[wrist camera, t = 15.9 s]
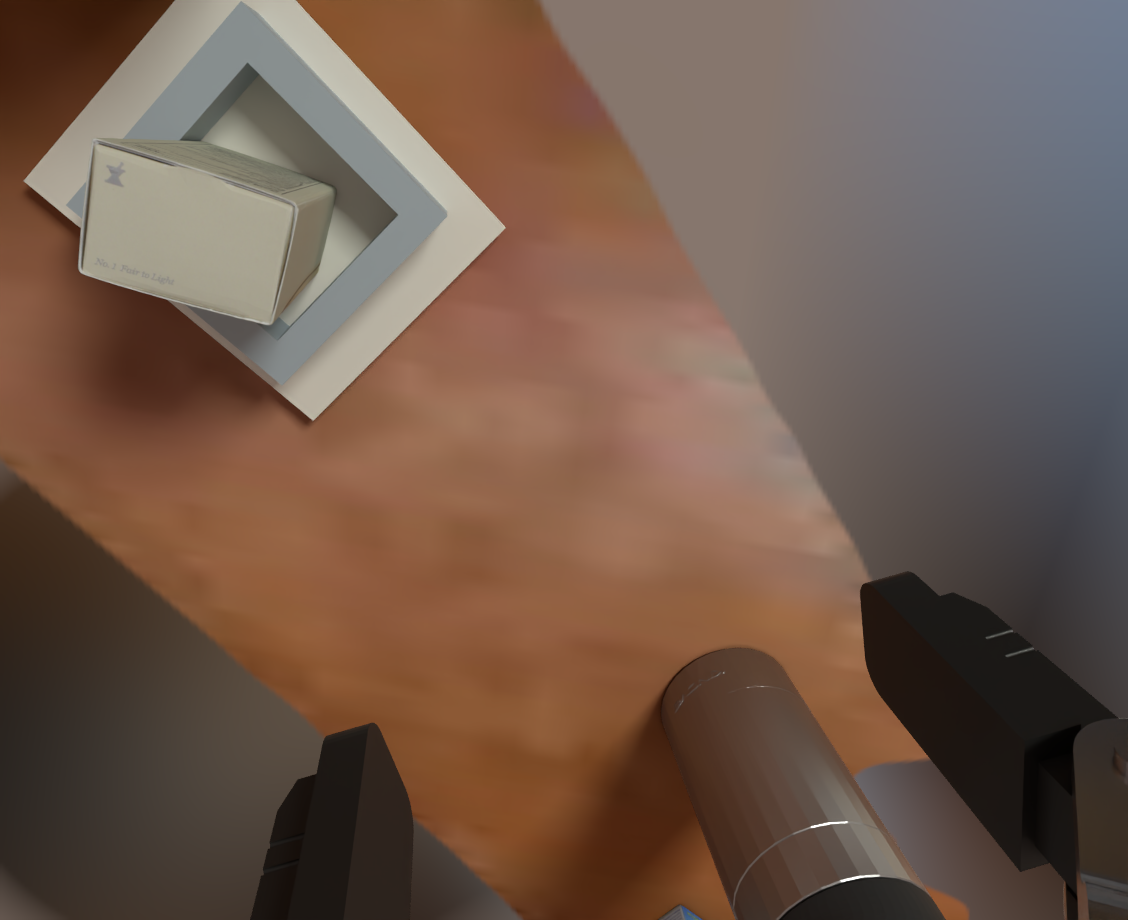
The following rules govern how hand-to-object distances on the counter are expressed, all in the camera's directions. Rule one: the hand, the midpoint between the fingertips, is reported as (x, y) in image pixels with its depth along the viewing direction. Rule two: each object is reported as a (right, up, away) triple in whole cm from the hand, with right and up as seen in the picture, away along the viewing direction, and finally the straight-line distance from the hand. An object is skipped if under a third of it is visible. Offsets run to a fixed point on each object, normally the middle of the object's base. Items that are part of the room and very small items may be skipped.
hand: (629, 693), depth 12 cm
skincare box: (-15, +15, +23) cm, 32 cm away
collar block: (-15, +16, +24) cm, 32 cm away
